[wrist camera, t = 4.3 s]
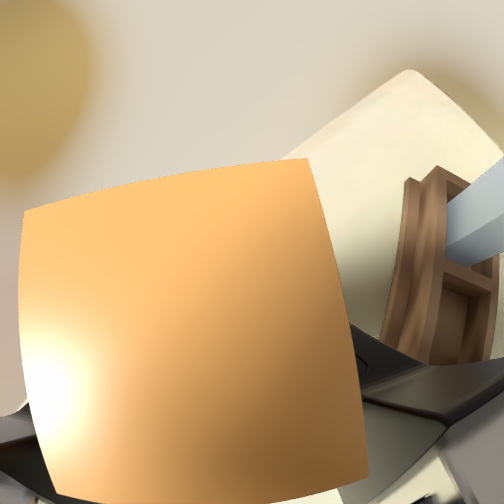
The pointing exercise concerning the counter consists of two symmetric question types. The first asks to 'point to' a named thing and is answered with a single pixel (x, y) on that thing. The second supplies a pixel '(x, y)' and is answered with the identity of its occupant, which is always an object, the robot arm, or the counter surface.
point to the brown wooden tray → (438, 283)
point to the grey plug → (477, 219)
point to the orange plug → (191, 341)
